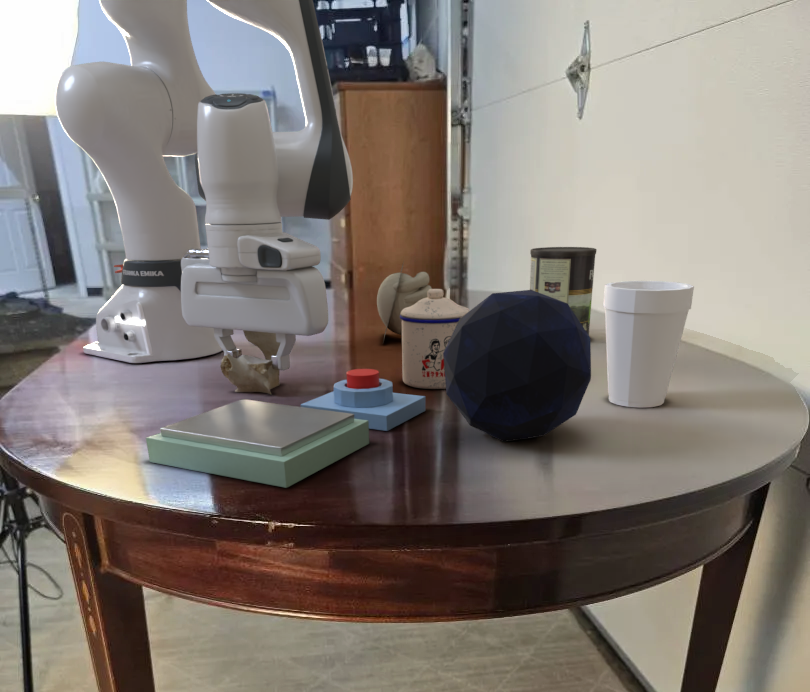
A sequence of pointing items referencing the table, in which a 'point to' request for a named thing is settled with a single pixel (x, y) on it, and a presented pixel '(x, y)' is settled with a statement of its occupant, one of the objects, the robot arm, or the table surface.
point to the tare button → (362, 378)
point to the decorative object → (400, 297)
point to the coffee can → (565, 277)
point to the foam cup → (643, 338)
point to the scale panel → (371, 404)
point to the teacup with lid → (428, 339)
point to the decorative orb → (518, 365)
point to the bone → (253, 365)
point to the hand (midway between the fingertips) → (257, 366)
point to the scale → (259, 441)
